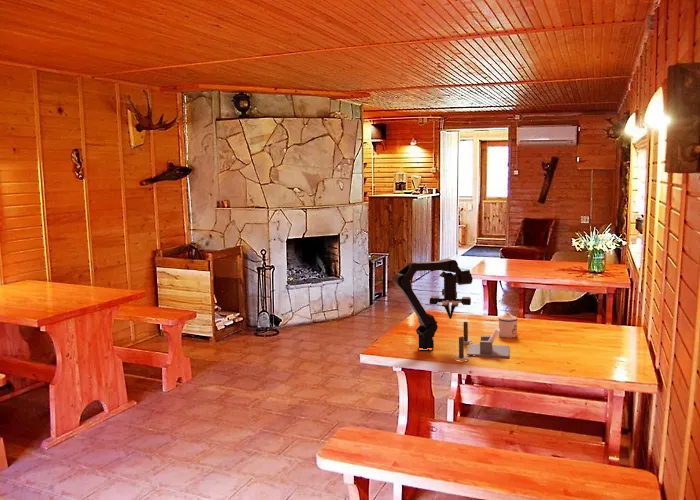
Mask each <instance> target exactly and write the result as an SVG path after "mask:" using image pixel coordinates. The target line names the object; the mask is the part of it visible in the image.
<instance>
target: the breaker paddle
mask: <svg viewBox="0 0 700 500" xmlns="http://www.w3.org/2000/svg"><path fill="white" fill-rule="evenodd" d="M499 332H500V328H499V326H495V328H494V330H493V332H492V333H491V335H489V336H490V338H489V340H488V341H492V344H493V343H494V342H495V339H496V338H497V336H499Z"/></svg>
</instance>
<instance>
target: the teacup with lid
mask: <svg viewBox="0 0 700 500" xmlns="http://www.w3.org/2000/svg"><path fill="white" fill-rule="evenodd" d="M498 328H500V332H499V333H498V336H500V337H501V338H505V337H506V338H512V337H513V338H515V337H517V336H518V317H517V316H514V315H513V314H511V313H510V312H509V311H507V312H506V313H505V314H503V315H500V316H499V317H498Z"/></svg>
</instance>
